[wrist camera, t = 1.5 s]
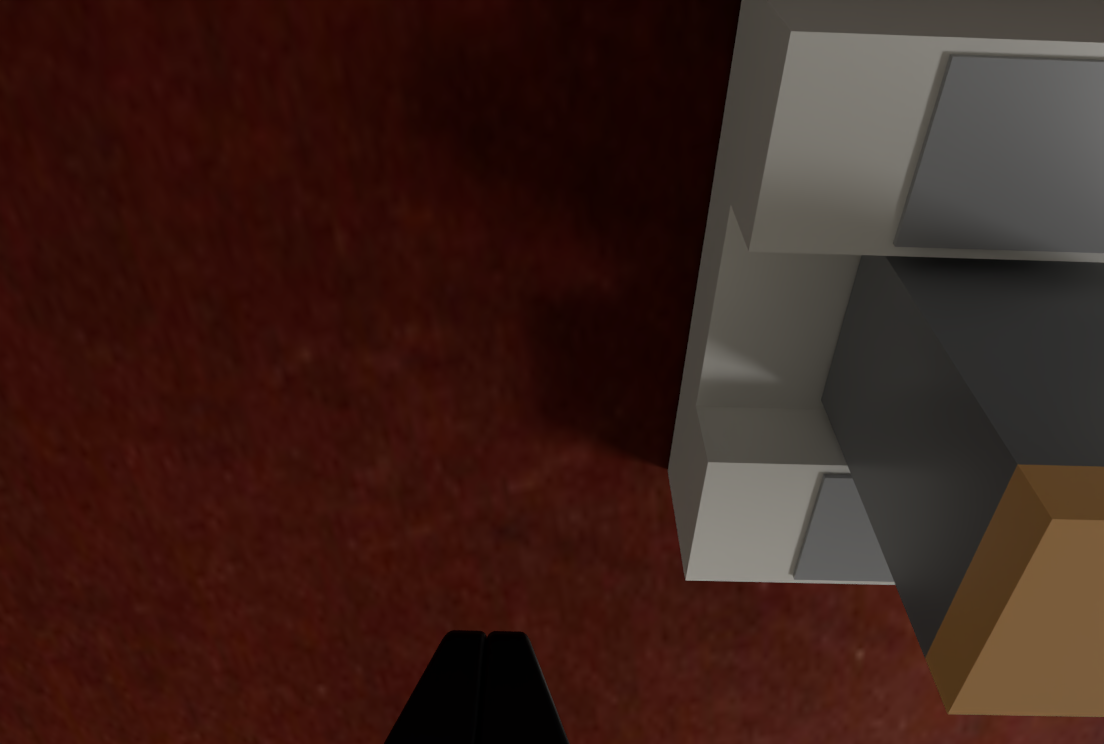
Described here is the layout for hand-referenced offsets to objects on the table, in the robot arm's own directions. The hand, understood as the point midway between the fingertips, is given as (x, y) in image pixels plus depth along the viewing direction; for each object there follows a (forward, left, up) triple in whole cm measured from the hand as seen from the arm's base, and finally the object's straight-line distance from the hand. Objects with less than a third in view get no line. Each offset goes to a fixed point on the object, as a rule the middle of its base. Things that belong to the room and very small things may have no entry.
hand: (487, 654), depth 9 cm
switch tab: (-7, 0, -7) cm, 10 cm away
